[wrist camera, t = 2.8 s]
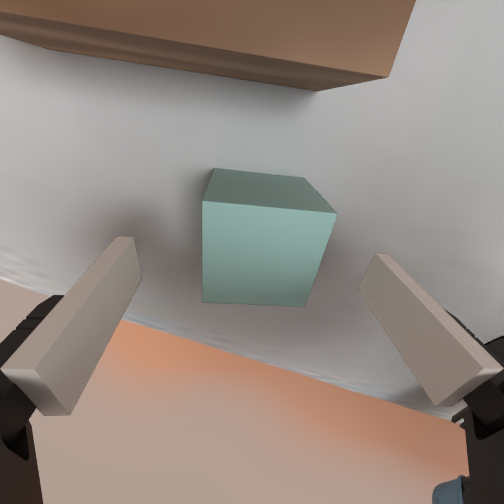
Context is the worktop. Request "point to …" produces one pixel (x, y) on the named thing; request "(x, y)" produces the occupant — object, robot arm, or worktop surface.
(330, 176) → the worktop surface
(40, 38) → the walnut block
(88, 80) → the worktop surface
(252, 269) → the teal cube
